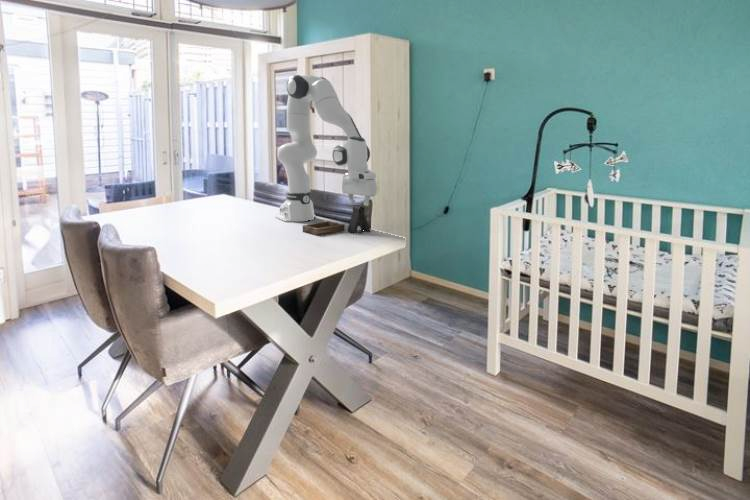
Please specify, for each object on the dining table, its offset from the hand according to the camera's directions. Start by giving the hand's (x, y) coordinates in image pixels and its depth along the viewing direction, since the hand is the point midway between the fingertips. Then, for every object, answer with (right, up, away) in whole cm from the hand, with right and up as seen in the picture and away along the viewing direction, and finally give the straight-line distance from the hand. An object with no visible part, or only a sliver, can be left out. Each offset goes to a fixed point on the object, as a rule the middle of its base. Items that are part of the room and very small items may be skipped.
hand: (359, 204), depth 237 cm
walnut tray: (-17, -12, +5) cm, 21 cm away
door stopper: (0, -12, +3) cm, 13 cm away
